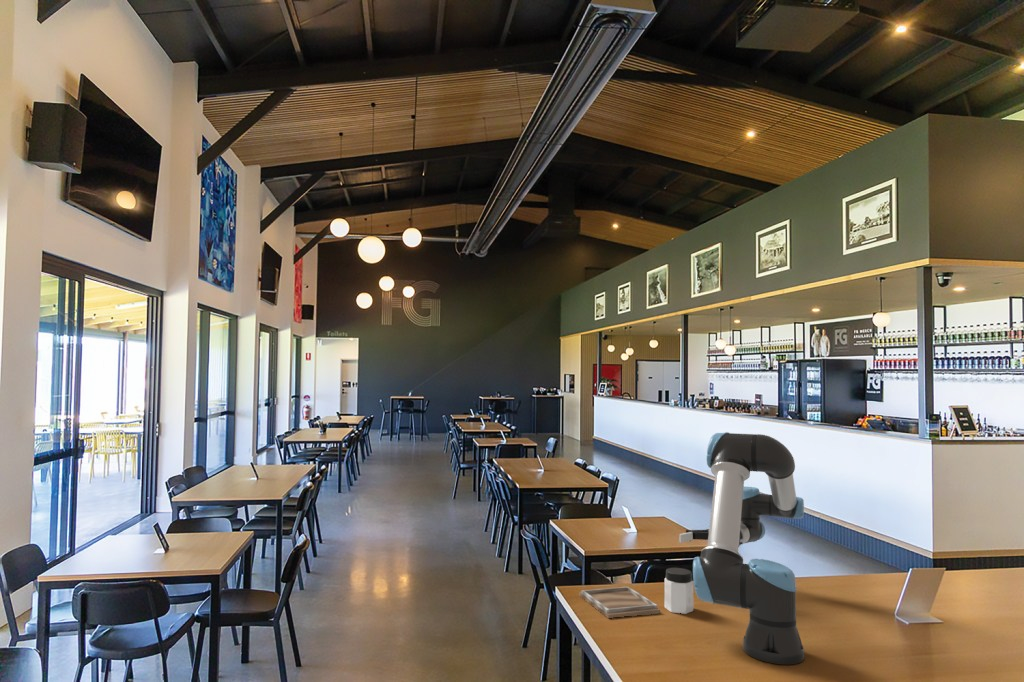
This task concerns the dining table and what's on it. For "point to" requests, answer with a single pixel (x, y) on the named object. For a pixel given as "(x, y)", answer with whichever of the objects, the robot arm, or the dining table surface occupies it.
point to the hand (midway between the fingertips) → (696, 542)
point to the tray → (619, 602)
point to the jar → (678, 590)
